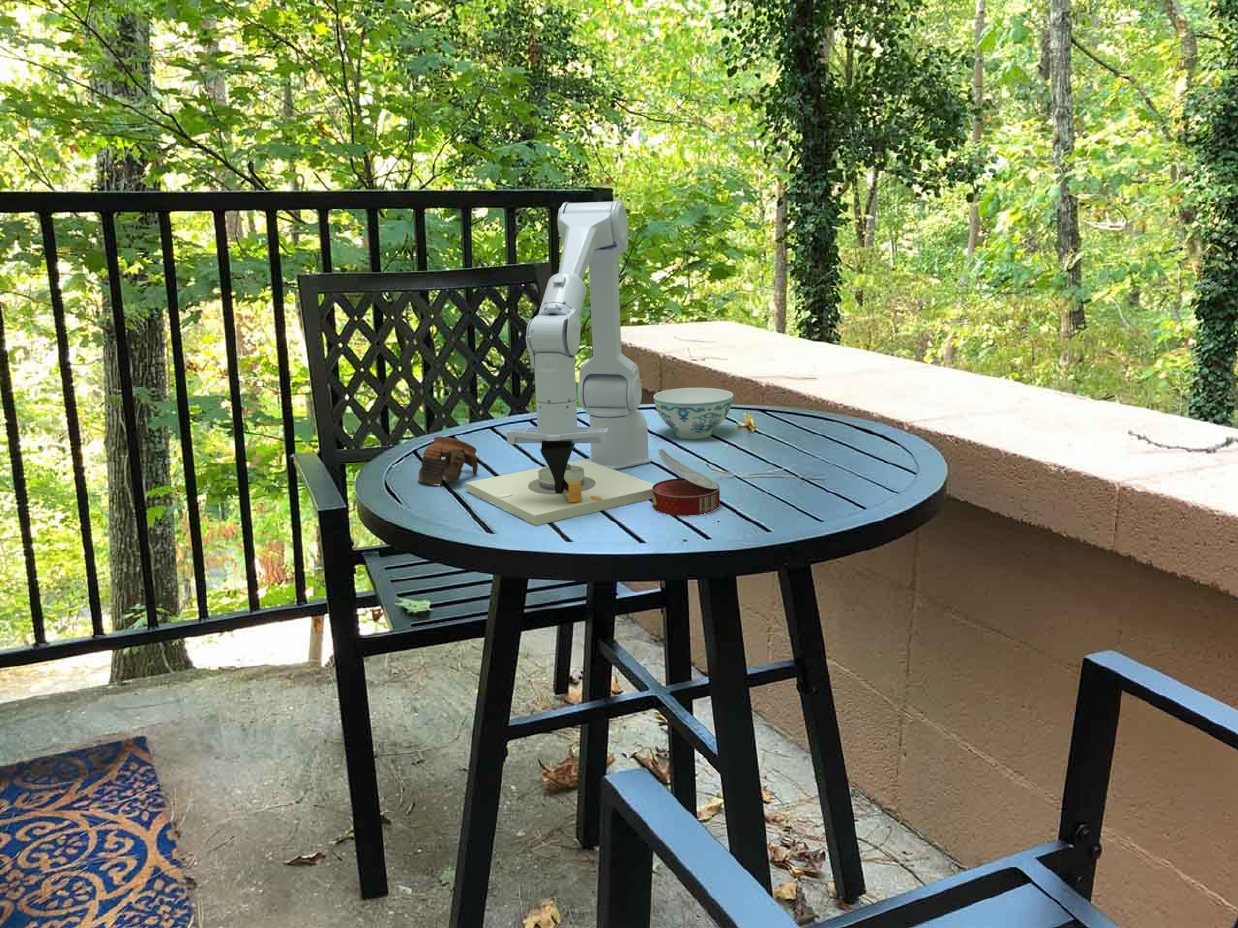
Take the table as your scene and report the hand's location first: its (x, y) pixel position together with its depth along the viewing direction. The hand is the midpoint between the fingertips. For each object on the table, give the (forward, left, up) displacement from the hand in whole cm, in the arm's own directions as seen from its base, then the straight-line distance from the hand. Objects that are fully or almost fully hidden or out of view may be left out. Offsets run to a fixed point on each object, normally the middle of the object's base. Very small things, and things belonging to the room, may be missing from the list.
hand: (560, 491), depth 143 cm
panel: (-4, -7, -3) cm, 9 cm away
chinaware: (-44, -25, -3) cm, 51 cm away
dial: (-3, -4, -1) cm, 5 cm away
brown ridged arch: (+6, -26, -3) cm, 27 cm away
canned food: (-15, +10, -3) cm, 19 cm away
